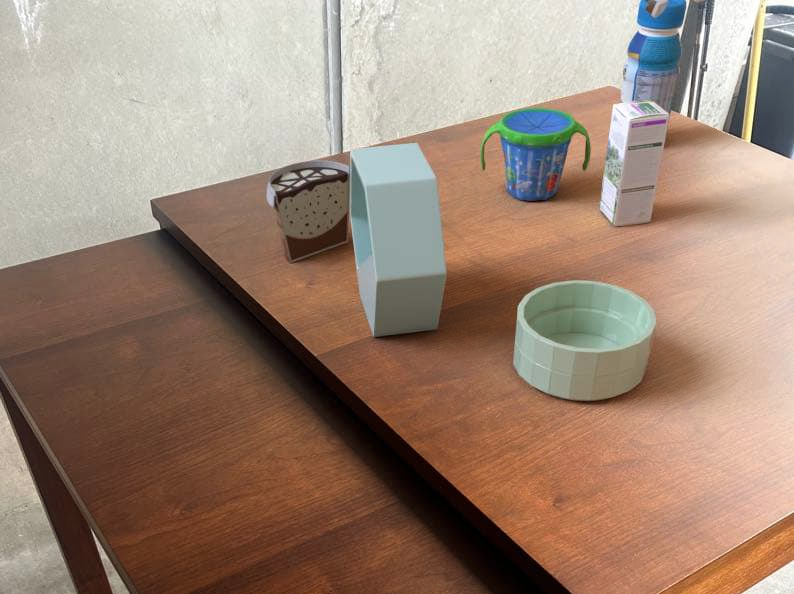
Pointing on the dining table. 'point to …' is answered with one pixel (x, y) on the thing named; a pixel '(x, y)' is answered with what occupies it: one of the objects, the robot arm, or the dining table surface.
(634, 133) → the syrup box
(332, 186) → the food container
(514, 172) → the snack cup
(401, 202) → the planter
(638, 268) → the dining table surface
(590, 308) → the bowl
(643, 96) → the beverage bottle
